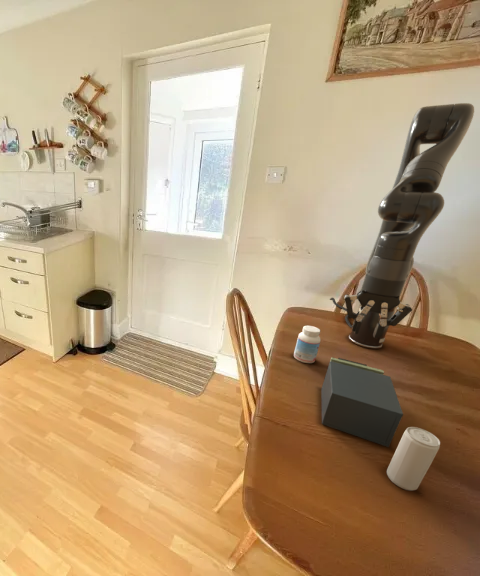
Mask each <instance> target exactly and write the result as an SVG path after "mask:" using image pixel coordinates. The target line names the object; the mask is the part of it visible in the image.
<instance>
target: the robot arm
mask: <svg viewBox="0 0 480 576" xmlns="http://www.w3.org/2000/svg"><path fill="white" fill-rule="evenodd" d="M474 114H475V106H474V105H473V104H472V103H469V102H460V103H451V104H449V103H448V104H436V105H427V106H422V107H420V108H419V109H418V110H417V111H416V112H415V114H414V115H413V117H412V120H411V122H410V125H409V128H408V132H407V136H406V141H405V144H404V148H403V154H402V156H401V161H400V164H399V169H398V171H397V174H396V176H395V180H394V182H393V185H392V189H391V190H390V191H389V192H388V193H387V194H385V195H384V197H382V199H381V201H380V203H379V205H378V208H377V214H378V216H379V218H380V219H381V220H382V221H381V224H380V229H379V231H378V234H377V238H376V240H375V242H374V245H373V247H372V250H371V252H370V255H369V257H368V260H367V262H366V267H365V276H364V279H363V282H362V285H361V288H360V290H359V291H358V292H357V293H356V294H351V295H350V294H345V295H344V297H343V298H344V304H345V306H342V305H341V304H339V303H337V302H336V300H335V299H336V298H335V297H330V298H329V300H330V301H332V303H333V304H334V306H336V307H337V308H339V309H341V310H343V311H345V312H346V313H347V314H346V315H345V317H344V320H345V323H346V324H347V326H348V327H350V328H351V330H350V333H349V335H348V340H349V341H350V342H351V343H353V344H355V345H357V346H358V347H359V346H360V347H363V348H366V349H371V350H373V349H374V350H377V349H378V350H379V349H382V347H383V344H384V342H385V341H386V336H387V333H388V330H389V328H390V326H391V327H396V326H397V325H398V324H399V323H400V322H402V321H403V320H404V319H405V318H406V317H407V316H408V315H409V314H410V313H411V312H412V311H413V308H412V307H411V305H410V304H408V303H404V302H401V299H400V298H401V295H402V292H403V290H404V287H405V284H406V282H407V280H408V278H409V276H410V275H411V271H412V269H413V266H414V264H415V263H414V262H415V259H414V255H415V252H416V249H417V247H418V245H419V243H420V241H421V239H422V237H423V235H424V234H425V232H427V230H428V228H429V227H430V226H431V225H433V222H435V220H436V219H437V218H438V217H439V215H440V214H441V212H442V211H443V209H444V207H445V199H444V196H443V195H442V194H441V193H439V192H436V191H437V190H438V189H439V187H440V185H441V182H442V179H443V176H444V175H445V171H446V169H447V166H448V164H449V162H450V161H451V159H452V157H453V156H454V154H455V153H456V152H457V150H458V149H459V147H460V145H461V143H462V142H463V140H464V138H465V136H466V134H467V133H468V131H469V128H470V127H471V124H472V122H473V118H474V116H475V115H474ZM421 145H432V146H431V147H429V148H427V149H426V150H424V151H422V152H421ZM356 300H358V303H359V305H358V309H357V312H354V310H353V305H352V304H355V303H356ZM396 310H397V311H396ZM349 319H353V323H352V324H351V322H350V320H349Z"/></svg>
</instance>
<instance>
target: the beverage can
mask: <svg viewBox="0 0 480 576" xmlns="http://www.w3.org/2000/svg"><path fill="white" fill-rule="evenodd" d="M440 445H441V440H440V439H439V438H438V437H437V436H436V435H435V434H434V433H432V432H430V431H428V430H426V429H424V428H420V427H417V426H409V427H407V428H406V429H405V430H404V432H403V434H402V436H401V438H400V440H399V442H398V445H397V447H396V449H395V452H394V454H393V456H392V458H391V460H390V463H389V464H388V467H387V469H386V475H387V477H388V479H389V480H390V481H391V482H392V483H393V484H394V485H396V486H397V487H399V488H401V489H403V490H405V491H416V490H418V489H419V487H420V485H421V484H422V482H423V480H424V478H425V476H426V474H427V472H428V470H429V468H430V467H431V465H432V463H433V461H434V459H435V457H436V455H437V453H438V452H439V450H440V447H441V446H440Z"/></svg>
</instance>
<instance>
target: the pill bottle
mask: <svg viewBox="0 0 480 576" xmlns="http://www.w3.org/2000/svg"><path fill="white" fill-rule="evenodd" d="M320 335H321V329H320V328H319V327H316V326H313V325H304V326H303V327H302V331H301V332H300V333H298V336H297V340H296V343H295V347H294V351H293V357H294V359H295V360H297V361H299V362H301V363H305V364H313V363H315V361H316V360H317V356H318V351H319V348H320V346H321V345H320V344H321V341H322V339H321V337H320Z"/></svg>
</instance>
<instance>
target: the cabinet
mask: <svg viewBox="0 0 480 576" xmlns="http://www.w3.org/2000/svg"><path fill="white" fill-rule="evenodd" d="M323 379H324V380H323V382H322V385H321V389H320V393H321V395H320V397H321V424H322V425H323V426H326V427H329V428H332V429H334V430H338V431H340V432H343V433H346V434H349V435H351V436H355V437H358V438H361V439H364V440H366V441H369V442H373V443H376V444H378V445H380V446H384V447H387V448H390V445H391V443H392V441H393V439H394V436H395V434H396V432H397V430H398V427H399V425H400V423H401V421H402V418H403V416H404V411H403V410H402V407H401V404H400V401H399V397H398V395H397V392H396V389H395V387H394V383H393V381H392V378H391V376H389V375H386V374H383V375H382V374H378V373H374V372H370V371H367V370H363V369H359V368H355V367H351V366H347V365H343V364H339V363H336V362H332V361H330V360H329V363H328V367H327V369H326V372H325V376H324V378H323Z"/></svg>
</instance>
